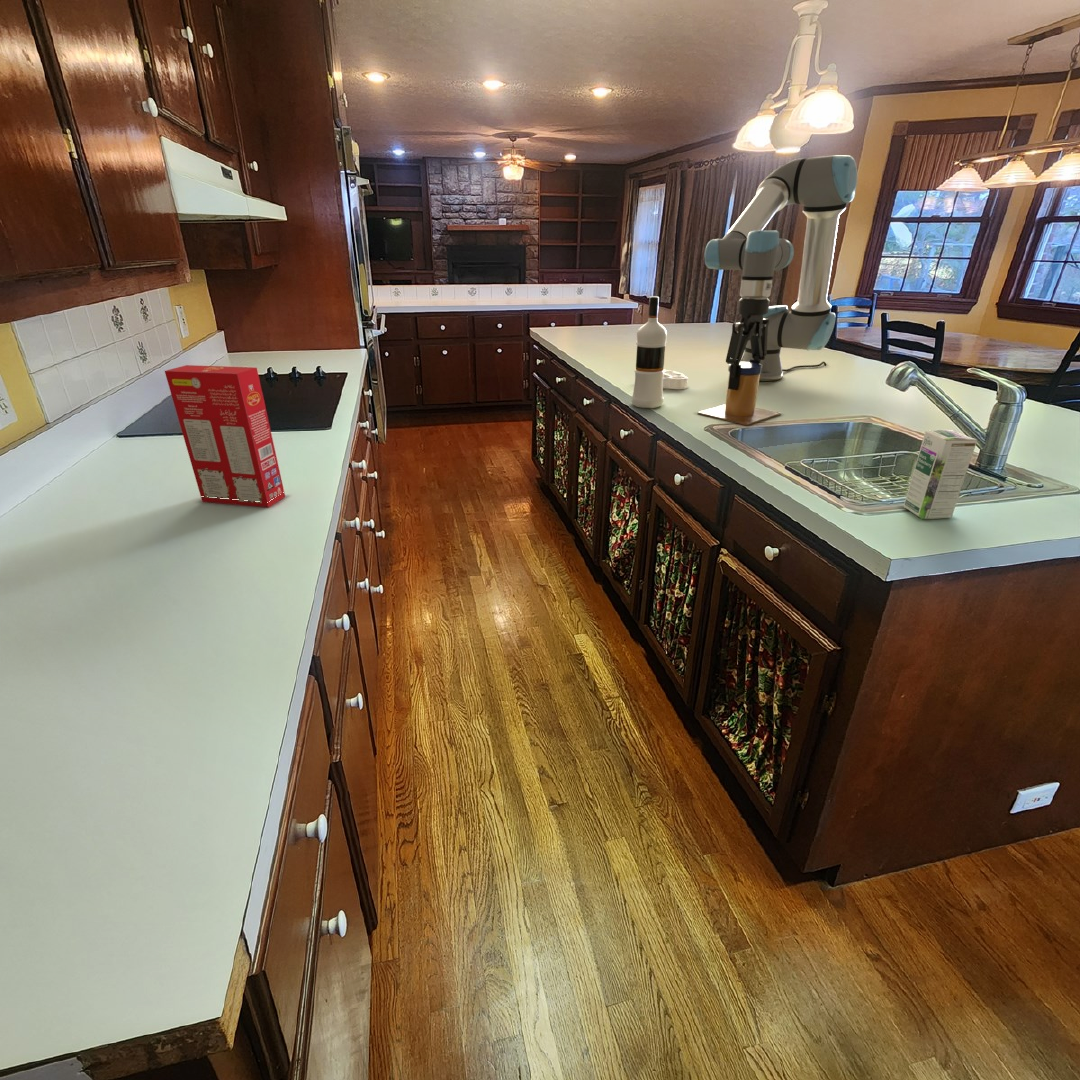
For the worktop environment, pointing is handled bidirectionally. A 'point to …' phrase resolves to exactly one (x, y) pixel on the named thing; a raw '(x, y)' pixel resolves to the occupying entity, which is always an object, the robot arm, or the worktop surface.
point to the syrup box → (939, 473)
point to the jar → (743, 396)
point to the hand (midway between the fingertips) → (742, 386)
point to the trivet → (744, 420)
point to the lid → (749, 368)
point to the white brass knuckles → (674, 380)
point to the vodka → (650, 361)
